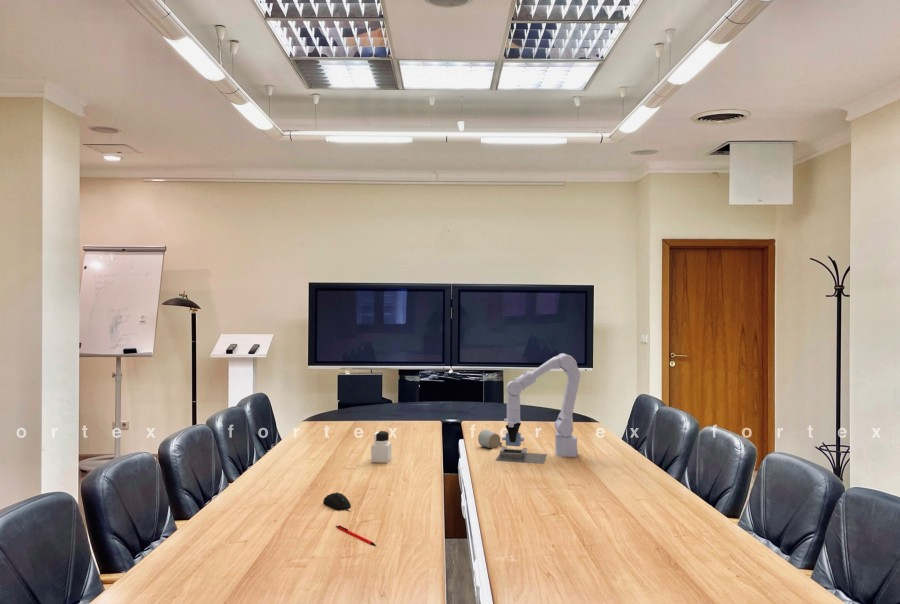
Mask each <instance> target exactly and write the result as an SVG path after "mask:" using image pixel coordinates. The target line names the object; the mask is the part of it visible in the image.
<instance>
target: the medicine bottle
mask: <svg viewBox="0 0 900 604" xmlns="http://www.w3.org/2000/svg"><path fill="white" fill-rule="evenodd" d="M389 438H390V437H389V432H388V431H385V430H378V431H376V432H374V433H373V443H372V444H371V445H370V449H371V450H370V462H371V463H381V464H382V463H383V464H386V463H389V462H390V460H391V459H392V441H389Z"/></svg>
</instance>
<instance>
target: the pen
mask: <svg viewBox="0 0 900 604" xmlns="http://www.w3.org/2000/svg"><path fill="white" fill-rule="evenodd" d="M335 528H336V529H338V530H340V531H342V532H343V533H346V534H348V535H350V536H352V537H354V538H357V539H359V540H361V541H362V542H364V543H367V545H368V544H369V545H371V546H375V547H377V544H375V542H373V541H371V540H370V539H367V538H365V537H363V536H361V535H358V534H357V533H355V532H353V531H351V530H349V529H348V528H346V527H344V526H342V525H339V524H338V525H335Z"/></svg>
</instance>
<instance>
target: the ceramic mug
mask: <svg viewBox="0 0 900 604" xmlns="http://www.w3.org/2000/svg"><path fill="white" fill-rule="evenodd" d="M477 441H478V444H479V445H480V446H482V447H485V448H488V449H494V448H498V447H499V446H500V447H503V442H501V437H500V435H499V434H498V433H496V432H494V431H491V430H488V429H485V428H484V429H482V430H481V431H480V432H479V434H478V437H477Z"/></svg>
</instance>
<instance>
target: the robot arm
mask: <svg viewBox="0 0 900 604" xmlns="http://www.w3.org/2000/svg"><path fill="white" fill-rule="evenodd" d="M555 369H556V370H560V369H561V370H562V371H563V372H564V373H565V374H566V376H567V380H566V385H565V389H564V395H563V399H562V404H561V409H560V412H559V413H558V416H557V419H556V420H555V422H554V429H555V431H556V432H555V433H554V434H555V436H554V437H555V439H554V440H555V444H554V445H555V448H554V449H555V455H556V456H558V457H563V458H564V457H565V458H567V457H569V458H571V457H573V458H577V457H578V452H579V451H578V450H579V449H578V436H576V435H573V433H574V426H573V422H574V418H573V413H574V409H575V403H576V399H577V395H578V389H579V383H580V380H581V379H580V378H581V372H580V369H579V367H578V363H577V361H576V359H575V358H574V357H573V356H572V355H570V354H566V353H563V352H562V353H559V354H557V355H556V356H553V357H552V358H550V359H548V360H547V361H545V362H544V363H542V364H541V365H540V366H538V367H537V368H535V369H534V370H533V371H531V370H527V371H523V372H522V374H521V375H519V376H518V377H514V378H513V380H510V381H509V382H507V384H506V385H505V390H506V393H507V394H506V396H507V397H506V418H503V421H504V422H507V424H506V425H505V428H506V432H508V434H509V439H510V442H515V441H516V434H517V433H519V430H520V427H521V425H522V422H521V421H522V420H521V396H520V395H521V393H522V391H524V390H525V389H527V388H528V387H530V386H531V385H534V384H535V383H536V381H537V378H539V377H541V376H542V375H544V374H545V373H548V372H550V371H551V370H555Z"/></svg>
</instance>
